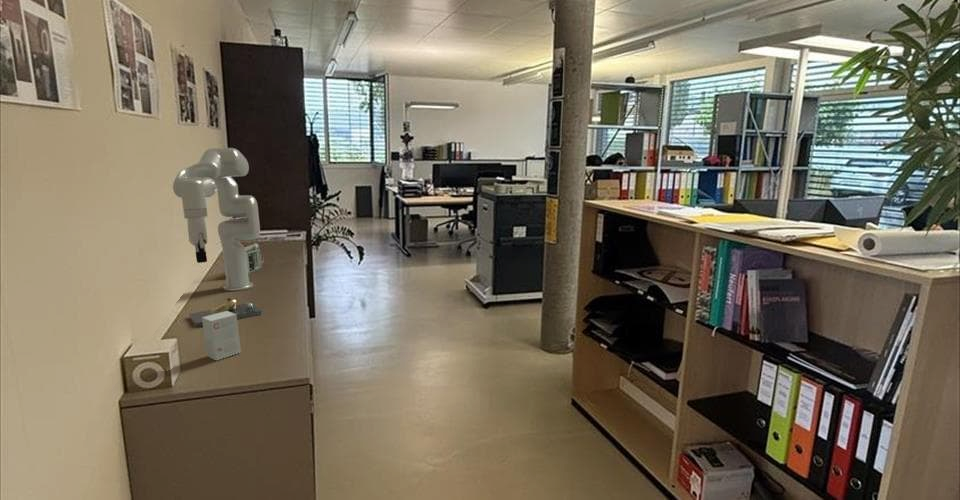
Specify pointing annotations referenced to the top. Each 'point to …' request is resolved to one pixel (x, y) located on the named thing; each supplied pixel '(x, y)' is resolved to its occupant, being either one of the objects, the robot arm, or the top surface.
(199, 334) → the top surface
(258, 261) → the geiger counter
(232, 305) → the lever with round hub
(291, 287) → the top surface
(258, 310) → the flat grey rectangular plate
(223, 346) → the small box
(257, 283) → the top surface
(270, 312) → the top surface
